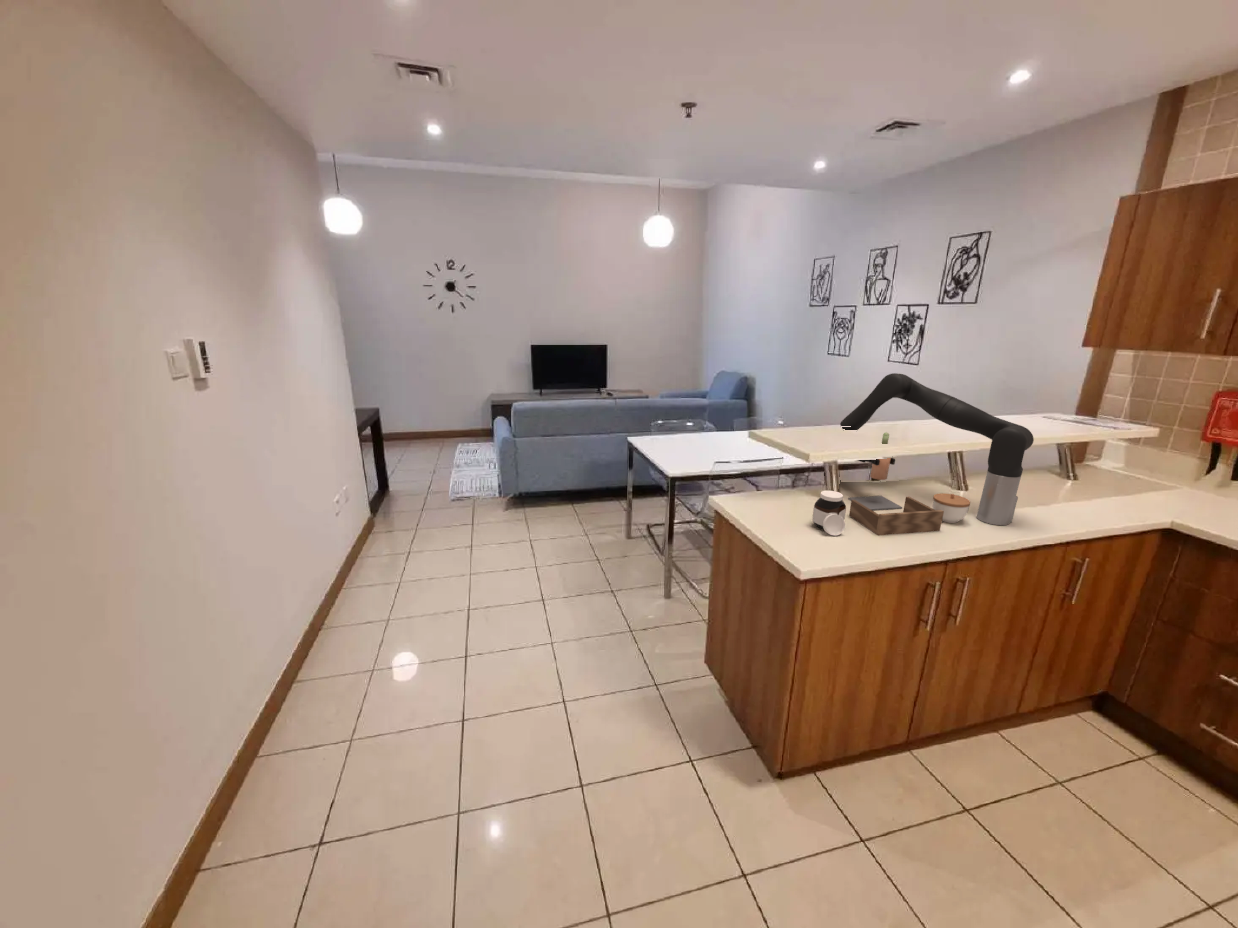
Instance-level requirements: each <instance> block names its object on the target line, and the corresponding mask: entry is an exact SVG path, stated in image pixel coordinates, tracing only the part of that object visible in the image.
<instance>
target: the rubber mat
mask: <svg viewBox="0 0 1238 928" xmlns="http://www.w3.org/2000/svg"><path fill="white" fill-rule="evenodd" d="M847 499H848V500H849V501H851V500H856V501H857V502H859V503H861V504H862V505H864V506H866V507H867V508H869V509H871V510H872V511H874V512H875V511H887V510H902V509H903V506H901V505H900V504H897V503H895V502H894V501H892V500H890V499H888V498H887V497H885V496H883V495H869V496H868V495H867V496H851V497H850V496H849V497H847Z"/></svg>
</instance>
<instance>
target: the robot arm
mask: <svg viewBox="0 0 1238 928" xmlns="http://www.w3.org/2000/svg"><path fill="white" fill-rule="evenodd" d="M892 399H900V400H904V401H907V402H908V403H912V404H914V405H916V406H918V407H919V408H920V409H921V410H923V411H924V412H926V414H928V416H931V417H933V418H934V419H936V420H938V421H940V422H941V423H944V424H945V425H947V426H951V427H952V428H956V429H961V430H963V431H968V432H972V433H976V434H979V435H980V436H981V435H982V436H983V437H986V438H988V439H989V440H991V442H990V448H989V453H988V458H987V471H986V476H985V478H984V479H985V480H984V484H983V488H982V493H981V496H980V500H979V504H978V509H977V513H976V518H977V520H979V521H980V522H981V521H982V522H983V523H987V524H990V525H994V526H996V525H997V526H1007V525H1009V524H1010V523H1013V519H1014V514H1015V511H1016V507H1017V503H1018V499H1019V497H1018V496H1017V493H1018V490H1019V486H1020V483H1021V482H1020V481H1021V478H1022V474H1023V470H1024V468H1023V465H1022V464H1023V460H1024V455H1025V452H1026V451H1027V450H1028V449H1030V448H1031V446H1032V445H1033V444H1034V440H1035V438H1034V435H1033V433H1032V431H1030V430H1029V428H1027V427H1025V426H1023V425H1021V424H1017V423H1014V422H1011V421H1009V420H1005V419H1003V418H999V417H996V416H994V415H992V414H989V413H988V412H986V411H984V410H982V409H980V408H978V407H975V406H973V405H972V404H970V403H967V402H966V401H963V400H962V399H959V398H956V397H954V396H952V395H950V394H947V393H945V392H942V391H939V390H936V389H932V388H930V387H927V385H926V386H925V385H923V384H922V383H920V382H918V381H917V380H915V379H913V378H912V377H910V376H908V375H906V374H902V373H898V372H897V373H896V372H895V373H889V374H886V375H885V376H883V378H882V379H881V380H880V381H879V382H878V384H877V385H876V386H875V388H873V390H872V391H871V392H870V393H869V394H868V396H867V397H866V398H865V399H864V400H863V401H862V402H861V403H860V404H859V405H858V406H857V407H856V408H854V409H853V410H852V411H851V412H849V414H847V415H846V417H844V418H843V419H842V420H841V421H840V424H839V425H840V427H841V426H851V427H842V428H841V429H842V430H843V429H845V430H857V431H858V430H859V429H861V428H862V427H863V426H865V425H866V423H867V422H868V421H869V420H870V419H871V418H872V417H873V415H874V414H875V413H876V411H877V410H878V409H880V407H881V406H883V405H884V404H885V403H886V402H887V403H888V402H889V400H892ZM857 461H858V462H861V463H864V464H865V463H866V462H867V463H868V464H871V465H872V464H874V465H879V462H880V460H879V459H876V460H857ZM895 464H896V458H894V457H892V458H891V460H890V465H895Z"/></svg>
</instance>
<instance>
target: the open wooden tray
mask: <svg viewBox="0 0 1238 928" xmlns="http://www.w3.org/2000/svg"><path fill="white" fill-rule="evenodd" d="M943 514H944V511H942V510H934V509H933V507H930V506H928V505H926V504H924V503H923V502H920V501H918V500H917V499H914V497H913V498H912V497H911V496H905V499H904V505H903V511H902V512H901V511H900V512H891V513H890V512H888V513H877V512H875V511H872V510H871V509H869V508H867V507H866V506H864V505H862V504H861V503H859V502H857V501H856V500H850V507H849V514H848V516H849V517H850V518H851V519H854V521H856V522H858V524H861V525H862V526H863V527H865V528H867V529H868V530H870V531H871V532H872V533H874V534H875V535H876V536H884V535H885V536H889V535H901V534H914V533H917V534H918V533H926V532H927V533H928V532H929V533H930V532H940V531H941V526H942V522H943V521H942V518H943Z"/></svg>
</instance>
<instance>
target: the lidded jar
mask: <svg viewBox="0 0 1238 928" xmlns="http://www.w3.org/2000/svg"><path fill="white" fill-rule="evenodd" d="M970 506H971V501H970V500H969V499H968V498H966V497H964V496H960V495H957V494H954V493H943V492H941V493H935V494H934V495H933V498H932V507H931V508H932V509H934V510H942V511H944V514H943V518H942V522H943V523H944V522H945V523H949V524H956V523H958V522H959V521H961V520H963V519H964V518H965V517H966V516H967V514H968V512H969V509H970Z"/></svg>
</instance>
